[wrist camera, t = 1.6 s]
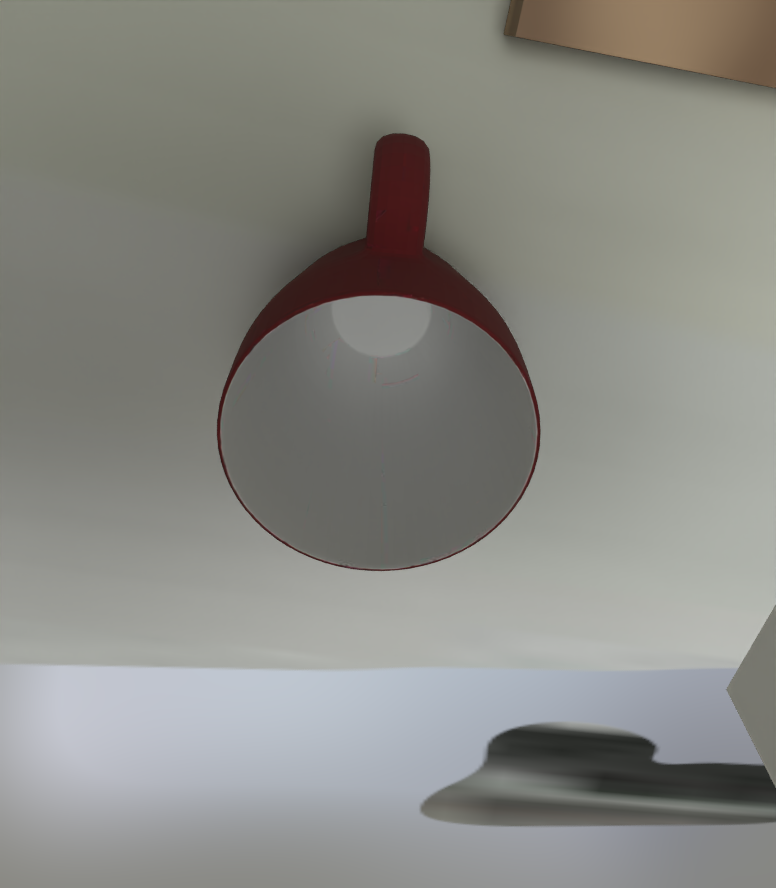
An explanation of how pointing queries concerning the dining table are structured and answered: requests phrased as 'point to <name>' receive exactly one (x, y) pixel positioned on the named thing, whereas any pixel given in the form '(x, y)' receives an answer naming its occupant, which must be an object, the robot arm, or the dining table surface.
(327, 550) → the mug
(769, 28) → the wooden stand
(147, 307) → the dining table surface
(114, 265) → the dining table surface
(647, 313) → the dining table surface
